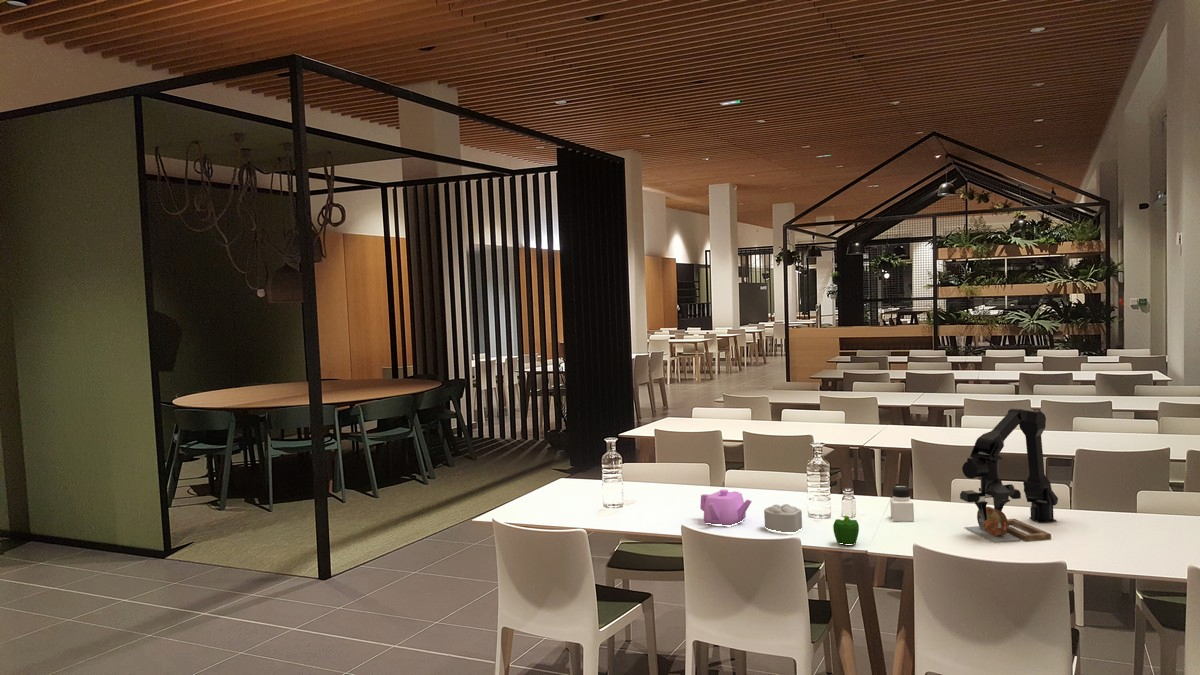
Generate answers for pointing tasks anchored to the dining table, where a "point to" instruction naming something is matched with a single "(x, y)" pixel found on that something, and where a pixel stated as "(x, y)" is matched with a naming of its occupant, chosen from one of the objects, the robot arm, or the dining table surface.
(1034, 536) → the frame
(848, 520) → the bell pepper
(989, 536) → the grey mat
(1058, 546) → the dining table surface
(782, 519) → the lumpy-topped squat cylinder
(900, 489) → the medicine bottle
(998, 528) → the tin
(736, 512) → the teakettle
